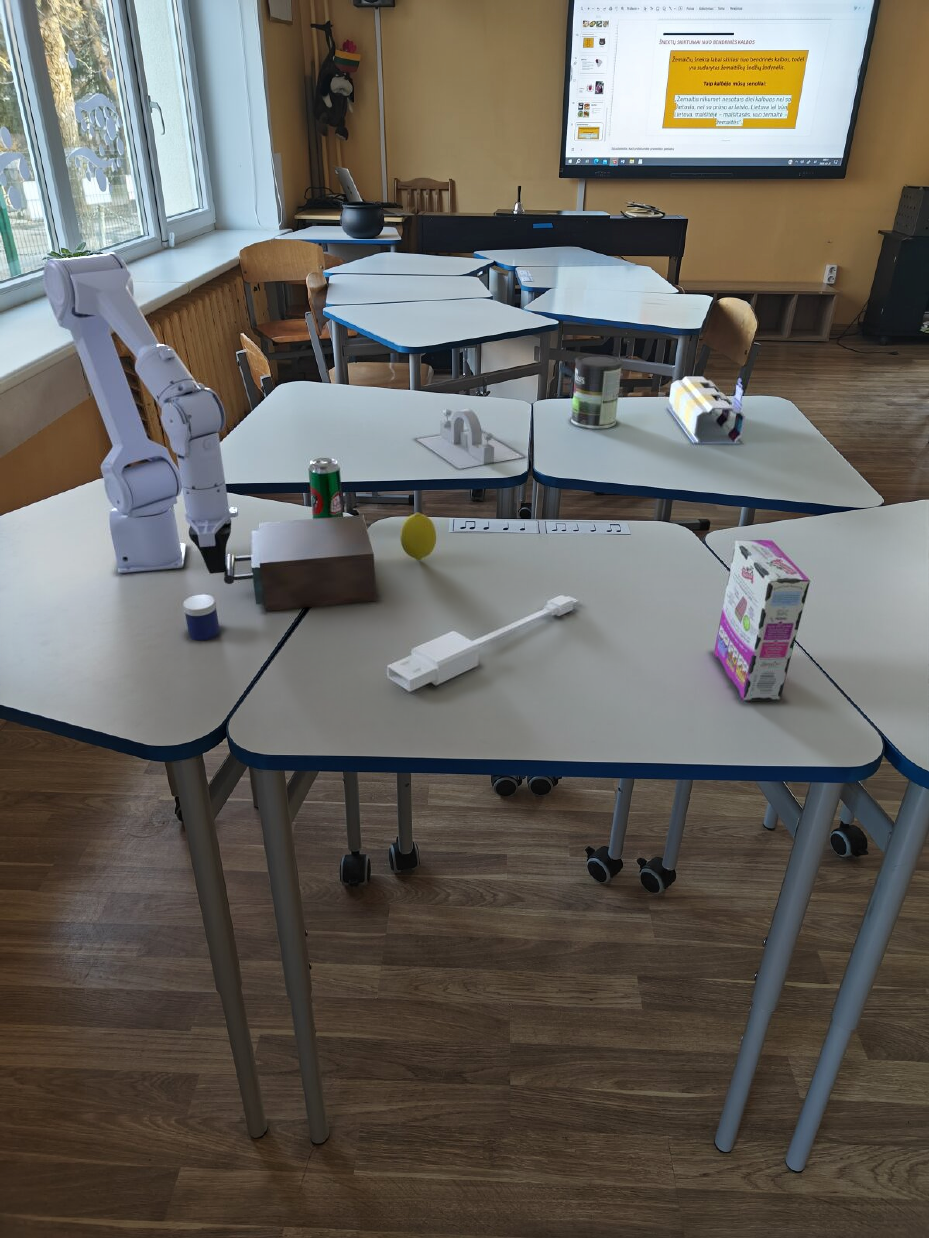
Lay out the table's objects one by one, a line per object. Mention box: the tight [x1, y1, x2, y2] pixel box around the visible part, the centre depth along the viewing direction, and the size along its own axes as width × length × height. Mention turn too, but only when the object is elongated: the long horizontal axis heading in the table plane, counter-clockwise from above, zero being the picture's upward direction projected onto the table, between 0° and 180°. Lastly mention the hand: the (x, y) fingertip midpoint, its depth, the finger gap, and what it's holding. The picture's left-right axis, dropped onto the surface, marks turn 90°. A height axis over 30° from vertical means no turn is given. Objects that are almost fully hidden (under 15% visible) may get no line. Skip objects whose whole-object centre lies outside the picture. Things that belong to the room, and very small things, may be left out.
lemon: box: [400, 512, 437, 561], centre depth 132 cm, size 6×6×8 cm
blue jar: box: [182, 594, 220, 641], centre depth 114 cm, size 4×4×5 cm
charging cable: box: [386, 594, 579, 693], centre depth 112 cm, size 5×32×3 cm, turn 133°
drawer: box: [223, 529, 265, 605], centre depth 125 cm, size 19×12×6 cm, turn 102°
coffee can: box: [570, 353, 623, 430], centre depth 193 cm, size 10×10×14 cm
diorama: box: [668, 375, 746, 445], centre depth 191 cm, size 25×10×13 cm, turn 1°
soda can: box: [308, 457, 344, 519], centre depth 141 cm, size 5×5×12 cm
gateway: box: [439, 408, 496, 465], centre depth 178 cm, size 20×2×8 cm, turn 28°
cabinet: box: [258, 514, 377, 612], centre depth 125 cm, size 16×14×8 cm
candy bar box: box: [713, 539, 811, 702], centre depth 103 cm, size 11×5×16 cm, turn 5°
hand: (217, 571), depth 123 cm, fingers closed, pressing on drawer
